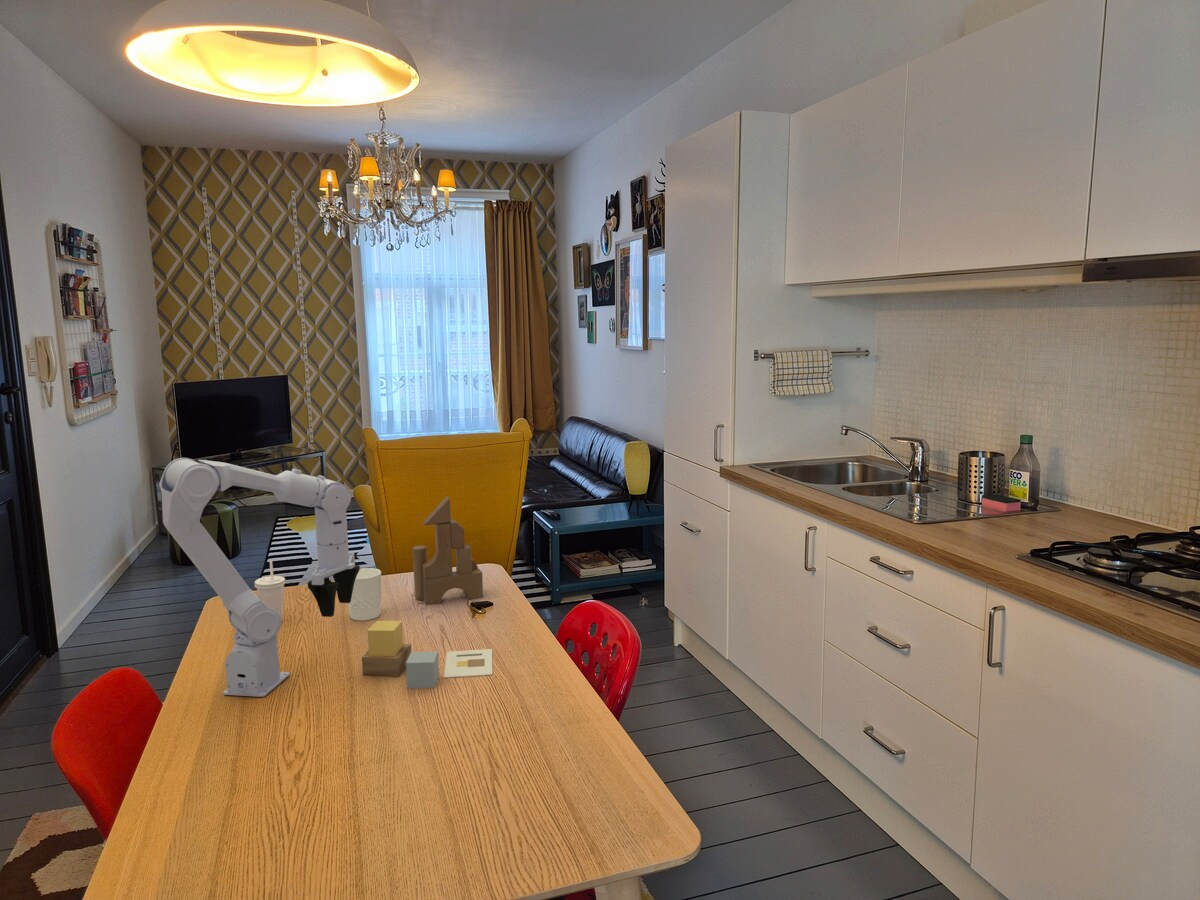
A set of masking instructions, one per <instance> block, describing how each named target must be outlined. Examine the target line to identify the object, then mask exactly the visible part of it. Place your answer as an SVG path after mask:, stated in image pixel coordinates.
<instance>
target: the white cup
mask: <svg viewBox="0 0 1200 900" xmlns="http://www.w3.org/2000/svg"><path fill="white" fill-rule="evenodd" d="M381 602H382V571H381V570H380V569H379V568H372V567H364V568H363V567H362V568H361V567H360V570H359V572H358V574H357V576H356V579H355V582H354V587H353V592H352V598H351V602H350V603H347V605H348V610H349V611H348V612H349V617H350V619H352V620H353V621H360V622H361V621H369V620H374V619H376V618H378V617H380V616H381V613H382V612H381V611H382V610H381V606H382V605H381Z"/></svg>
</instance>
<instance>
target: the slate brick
mask: <svg viewBox="0 0 1200 900" xmlns="http://www.w3.org/2000/svg"><path fill="white" fill-rule="evenodd" d="M439 665H440V664H439V651H438V650H436V651H435V650H434V651H411V653H410V655H409V658H408V660H407V662H406V670H405V671H406V689H411V690H412V689H436V686H437V683H438V680H439V677H440V666H439Z"/></svg>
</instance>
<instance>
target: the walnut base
mask: <svg viewBox="0 0 1200 900" xmlns="http://www.w3.org/2000/svg"><path fill="white" fill-rule="evenodd" d="M411 652H412V644H411V643H403V647H402V648H401V649H400V650H399V652H398V653H397V654H396V656H369V650H368V651H366V652H365V654H363V655H362V656H361V664H362V665H361V666H362V667H361V669H362V676H363V677H379V678H380V677H381V678H395V679H396V678H400V677H401V676H402V675H403V673H404V672H405V671H406V662H407V660H408V658H409V655H410V653H411Z"/></svg>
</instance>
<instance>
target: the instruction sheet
mask: <svg viewBox="0 0 1200 900" xmlns="http://www.w3.org/2000/svg"><path fill="white" fill-rule="evenodd" d="M445 656H446V657H445V664H444V672H443V679H450V678H451V679H453V678H464V677H465V678H468V677H485V676H493V649H492V648H487V649H485V648H484V649H471V650H470V649H469V650H453V651H452V650H451V651H446V655H445Z"/></svg>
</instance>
